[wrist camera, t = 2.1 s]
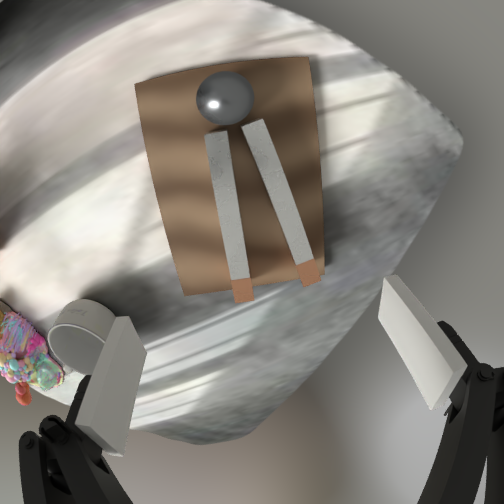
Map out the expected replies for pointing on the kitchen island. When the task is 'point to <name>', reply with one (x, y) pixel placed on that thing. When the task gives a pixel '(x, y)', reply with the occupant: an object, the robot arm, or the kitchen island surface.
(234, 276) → the tongs fixed
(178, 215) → the board
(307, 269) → the tongs arm
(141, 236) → the kitchen island surface
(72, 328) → the teacup
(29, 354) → the candy landscape model
